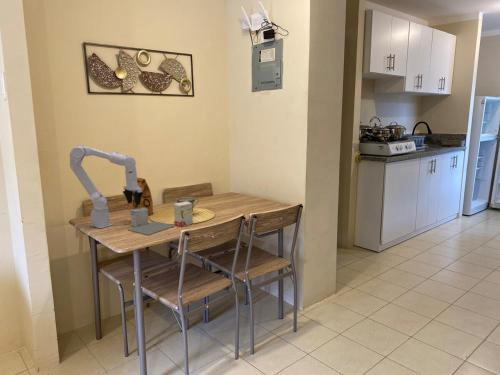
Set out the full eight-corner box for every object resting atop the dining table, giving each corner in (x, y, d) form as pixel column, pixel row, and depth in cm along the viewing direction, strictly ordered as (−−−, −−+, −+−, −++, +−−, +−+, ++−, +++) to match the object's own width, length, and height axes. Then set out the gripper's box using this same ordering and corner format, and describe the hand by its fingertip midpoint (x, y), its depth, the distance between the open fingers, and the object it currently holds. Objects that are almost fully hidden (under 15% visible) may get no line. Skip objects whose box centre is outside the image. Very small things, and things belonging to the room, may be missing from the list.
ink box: (179, 227, 194) (178, 205, 191) (174, 225, 197) (173, 203, 195) (193, 223, 199) (192, 202, 197) (187, 222, 203) (186, 201, 201)
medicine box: (143, 222, 204) (142, 207, 202) (148, 223, 201) (147, 208, 199) (131, 225, 198) (130, 210, 196) (136, 227, 195) (134, 211, 193)
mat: (127, 230, 190) (127, 229, 190) (154, 222, 204) (154, 221, 204) (148, 235, 181) (148, 234, 181) (175, 226, 195) (175, 225, 195)
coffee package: (140, 217, 214) (137, 180, 210) (130, 213, 223) (128, 177, 219) (155, 214, 220) (153, 178, 216) (146, 210, 229) (143, 175, 225)
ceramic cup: (181, 218, 210) (180, 201, 209) (175, 214, 219) (174, 198, 217) (202, 215, 217) (201, 198, 215) (195, 211, 225) (195, 195, 223)
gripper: (145, 179, 197) (147, 204, 200) (130, 177, 206) (132, 200, 209) (134, 181, 192) (136, 206, 194) (119, 179, 201) (121, 203, 204)
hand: (133, 204), depth 201 cm, fingers open, 7 cm apart
